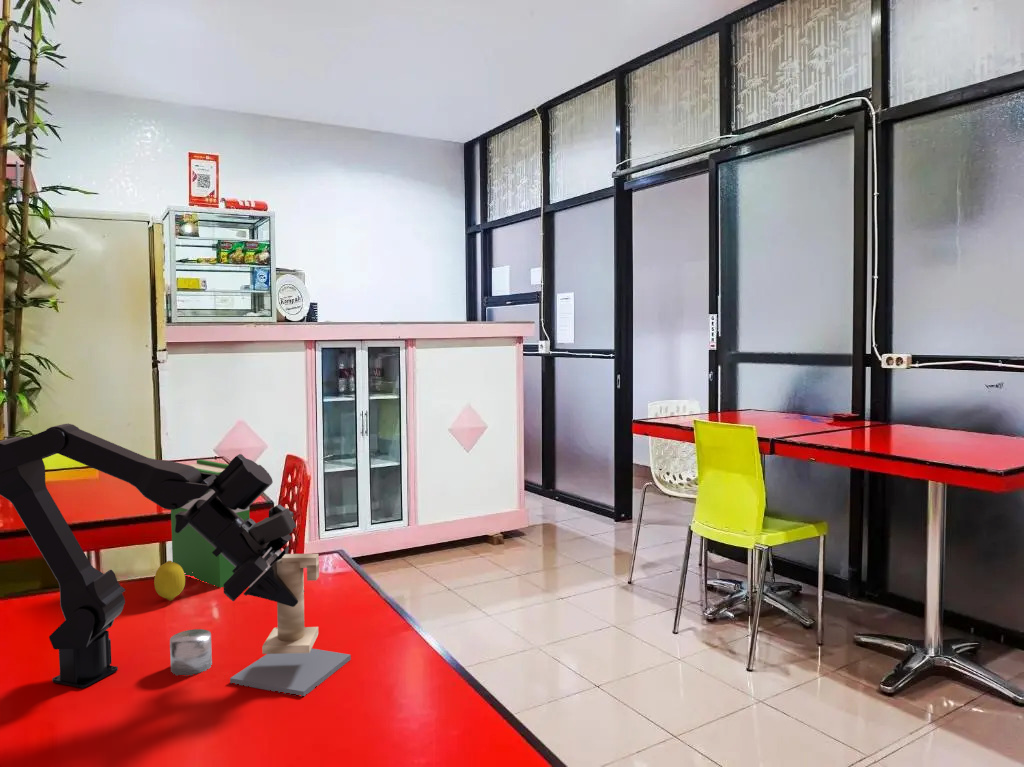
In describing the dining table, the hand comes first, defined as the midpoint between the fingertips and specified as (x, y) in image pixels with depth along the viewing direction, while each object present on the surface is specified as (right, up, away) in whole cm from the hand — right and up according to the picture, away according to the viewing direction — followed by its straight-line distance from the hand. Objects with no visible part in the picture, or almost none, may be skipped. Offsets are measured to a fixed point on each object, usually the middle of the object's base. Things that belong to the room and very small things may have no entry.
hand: (299, 599), depth 116 cm
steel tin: (-18, -11, +2) cm, 21 cm away
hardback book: (-32, -8, +46) cm, 57 cm away
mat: (-1, -11, +1) cm, 12 cm away
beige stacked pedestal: (-1, -7, 0) cm, 7 cm away
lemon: (-34, -9, +31) cm, 47 cm away
